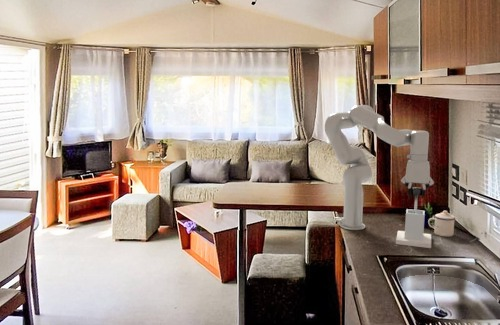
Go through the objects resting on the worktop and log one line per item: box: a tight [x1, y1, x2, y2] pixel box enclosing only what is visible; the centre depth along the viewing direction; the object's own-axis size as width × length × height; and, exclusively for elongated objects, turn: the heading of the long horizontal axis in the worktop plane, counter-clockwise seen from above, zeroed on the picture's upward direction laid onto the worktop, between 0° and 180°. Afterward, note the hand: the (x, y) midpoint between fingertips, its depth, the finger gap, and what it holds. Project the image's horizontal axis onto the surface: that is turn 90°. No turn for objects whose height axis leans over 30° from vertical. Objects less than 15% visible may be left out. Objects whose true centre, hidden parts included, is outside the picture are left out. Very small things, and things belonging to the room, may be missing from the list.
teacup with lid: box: [427, 210, 456, 238], centre depth 218 cm, size 12×9×12 cm
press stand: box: [395, 208, 432, 249], centre depth 206 cm, size 15×15×14 cm
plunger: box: [411, 186, 423, 214], centre depth 205 cm, size 6×6×18 cm
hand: (416, 196), depth 204 cm, fingers closed on plunger, 4 cm apart
